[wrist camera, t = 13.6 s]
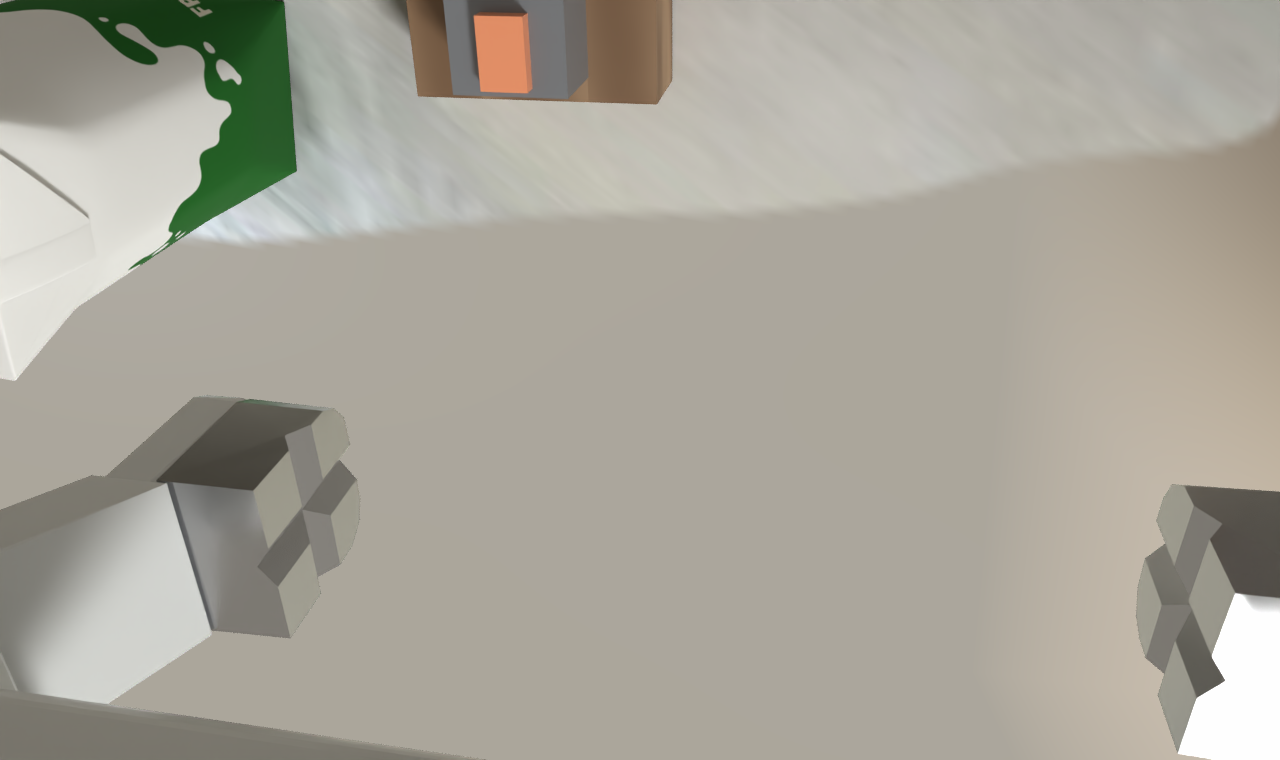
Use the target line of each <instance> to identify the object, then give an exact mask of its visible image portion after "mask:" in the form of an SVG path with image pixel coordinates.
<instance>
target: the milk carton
mask: <svg viewBox="0 0 1280 760" xmlns="http://www.w3.org/2000/svg"><path fill="white" fill-rule="evenodd" d="M296 171H297V168H296V155H295V141H294V128H293V114H292V101H291V87H290V74H289V60H288V47H287V33H286V20H285V6H284V2H283V1H277V0H15V1H10V2H6V3H2V4H0V378H3V379H8V380H16V379H17V378H18V377H19V376H20V374H21V373H22V372H23V371H24V370H25V368H26V367H27V366H28V365H29V364H30V362H31V361H32V360H33V359H34V358H35V356H36V355H37V354H38V353H39V352H40V350H41V349H42V348H43V347H44V346H45V344H46V343H47V342H48V341H49V340H50V338H51V337H52V336H53V335H54V334H55V332H56V331H57V330H58V329H59V327H61V325H62V324H63V323H64V322H65V320H66V319H67V318H68V317H69V316H70V315H71V313H72V312H73V311H74V310H75V309H76V308H77V307H78V306H80V305H82V304H83V303H84V302H86V301H87V300H89V299H90V298H92V297H93V296H95V295H96V294H98V293H99V292H101V291H102V290H104V289H105V288H107V287H108V286H110V285H111V284H113V283H114V282H116V281H117V280H119V279H121V278H122V277H123V276H125V275H127V274H128V273H129V272H131V271H133V270H134V269H135V268H137V267H139V266H140V265H141V264H143V263H145V262H146V261H147V260H149V259H151V258H152V257H154V256H155V255H156V254H158V253H159V252H161V251H163V250H164V249H165V248H167V247H169V246H170V245H172V244H173V243H175V242H176V241H178V240H179V239H181V238H182V237H184V236H185V235H187V234H188V233H190V232H191V231H193V230H194V229H196V228H198V227H199V226H201V225H202V224H204V223H205V222H207V221H209V220H210V219H212V218H214V217H216V216H217V215H219V214H221V213H223V212H224V211H226V210H228V209H230V208H232V207H233V206H235V205H237V204H239V203H241V202H242V201H244V200H246V199H248V198H249V197H251V196H253V195H255V194H257V193H258V192H260V191H262V190H264V189H266V188H267V187H269V186H271V185H273V184H274V183H276V182H278V181H280V180H282V179H283V178H285V177H287V176H289V175H291V174H292V173H294V172H296Z"/></svg>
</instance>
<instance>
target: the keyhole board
mask: <svg viewBox="0 0 1280 760" xmlns="http://www.w3.org/2000/svg"><path fill="white" fill-rule="evenodd" d="M406 3H407V12H408V20H409V28H410V36H411V44H412V52H413V60H414V68H415V76H416V84H417V92H418V96H423V97H453V98H482V99H512V100H541V101H571V102H600V103H630V104H657V103H658V102H659V100H660V99H661V97H662V96H663V94H664V92H665V91H666V89H667V88H668V86H669V85H670V83H671V82H672V0H586V25H587V51H588V78H587V79H586V81H585V82H584V83H583V84H582V85H581V86H580V87H579V88H578V89H577V90H576V91H575V92H574V93H573V94H572V95H571V96H570V98H569V99H551V98H523V97H495V96H466V95H453V89H452V80H451V70H450V61H449V51H448V42H447V32H446V23H445V13H444V4H443V0H406Z"/></svg>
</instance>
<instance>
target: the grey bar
mask: <svg viewBox="0 0 1280 760" xmlns="http://www.w3.org/2000/svg"><path fill="white" fill-rule="evenodd" d="M443 4H444V13H445V23H446V32H447V42H448V51H449V61H450V70H451V80H452V89H453V95H466V96H495V97H523V98H551V99H569V98H570V96H571V95H572V94H573V93H574V92H575V91H576V90H577V89H578V88H579V87H580V86H581V85H582V84H583V83H584V82H585V81H586V79H587V78H588V51H587V25H586V0H443Z"/></svg>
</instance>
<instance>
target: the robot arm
mask: <svg viewBox="0 0 1280 760" xmlns="http://www.w3.org/2000/svg"><path fill="white" fill-rule="evenodd" d="M349 445H350V442H349V438H348V433H347V429H346V425H345V420H344V417H343V416H342V415H341V414H340V413H338V412H337V411H336V410H335V409H334V408H326V407H317V406H308V405H299V404H290V403H281V402H272V401H263V400H254V399H248V400H246V399H244V398H236V397H223V396H211V395H206V396H199V397H194V398H192V399H191V400H190V401H189V402H188V403H187V404H186V405H185V406H183V407H182V408H181V409H180V410H179V411H178V412H177V413H176V414H175V415H173V416H172V417H171V418H170V419H169V420H168V421H167V422H166V423H165V424H163V425H162V426H161V427H160V428H159V429H158V430H157V431H156V432H155V433H153V434H152V435H151V436H150V437H149V438H148V439H147V440H146V441H145V442H143V443H142V444H141V445H140V446H139V447H138V448H137V449H136V450H134V452H132V453H131V454H130V455H129V456H128V457H127V458H126V459H124V460H123V461H122V462H121V463H120V464H119V465H118V466H117V467H115V468H114V469H113V470H112V471H111V472H110V473H109V474H108V475H107V476H105V477H104V476H103V477H102V476H92V475H91V476H89V477H86V478H83V479H81V480H78V481H75V482H73V483H70V484H67V485H65V486H62V487H59V488H57V489H54V490H52V491H49V492H46V493H44V494H41V495H38V496H36V497H33V498H31V499H28V500H25V501H22V502H20V503H17V504H15V505H12V506H9V507H7V508H4V509H1V510H0V760H485V759H478V758H471V757H464V756H456V755H450V754H443V753H437V752H429V751H423V750H415V749H409V748H402V747H395V746H389V745H382V744H375V743H368V742H362V741H354V740H347V739H341V738H334V737H327V736H321V735H314V734H307V733H300V732H293V731H287V730H280V729H273V728H266V727H259V726H252V725H246V724H238V723H232V722H225V721H218V720H211V719H204V718H198V717H191V716H184V715H177V714H170V713H164V712H157V711H150V710H143V709H136V708H130V707H123V706H116V705H109V704H108V703H109V702H111V701H113V700H114V699H116V698H117V697H119V696H120V695H122V694H123V693H125V692H126V691H127V690H129V689H130V688H132V687H134V686H135V685H137V684H138V683H140V682H141V681H143V680H144V679H146V678H147V677H149V676H150V675H152V674H153V673H155V672H156V671H158V670H159V669H161V668H162V667H164V666H165V665H167V664H168V663H170V662H171V661H173V660H174V659H176V658H177V657H179V656H180V655H182V654H183V653H185V652H186V651H188V650H190V649H191V648H193V647H194V646H196V645H197V644H199V643H200V642H202V641H203V640H204V639H206V638H208V637H209V636H211V635H212V631H211V630H213V631H223V632H233V633H243V634H254V635H263V636H273V637H283V638H291V637H292V635H293V634H294V633H295V631H296V629H297V628H298V627H299V625H300V624H301V622H302V621H303V619H304V618H305V616H306V615H307V613H308V612H309V610H310V609H311V607H312V606H313V605H314V603H315V602H316V600H317V599H318V597H319V596H320V594H321V591H320V586H319V582H318V576H320V575H322V574H324V573H326V572H327V571H329V570H331V569H333V568H335V567H337V566H339V565H340V564H341V563H342V561H343V560H344V558H345V556H346V555H347V553H348V552H349V550H350V549H351V547H352V544H353V541H354V538H355V534H356V531H357V527H358V523H359V520H360V496H359V490H358V484H357V479H356V478H355V477H354V476H353V475H352V474H351V472H350V471H349V470H348V469H347V468H346V467H345V466H344V465H343V464H342V462H341V461H340V459H341V457H342V456H343V454H344V453H345V451H346V450H347V448H348V446H349ZM1157 523H1158V526H1159V528H1160V531H1161V533H1162V536H1163V538H1164V541H1165V544H1164V545H1163V546H1161V547H1160V548H1159V549H1157V550H1156V551H1155V552H1154V553H1152V554H1151V555H1149V556H1148V557H1146V558H1145V561H1144V565H1143V569H1142V573H1141V577H1140V580H1139V584H1138V591H1137V610H1136V618H1137V625H1138V631H1139V638H1140V641H1141V645H1142V648H1143V651H1144V654H1145V658H1146V659H1148V660H1149V661H1150V662H1151V663H1152V664H1153V665H1155V666H1156V667H1157V668H1158V669H1159V670H1161V671H1162V672H1163V673H1164V677H1163V680H1162V684H1161V687H1160V690H1159V693H1158V697H1159V700H1160V703H1161V706H1162V709H1163V711H1164V715H1165V717H1166V720H1167V723H1168V726H1169V729H1170V732H1171V735H1172V738H1173V741H1174V744H1175V747H1176V750H1177V753H1178V754H1184V755H1190V756H1197V757H1203V758H1209V759H1216V760H1280V492H1275V491H1261V490H1247V489H1232V488H1218V487H1204V486H1190V485H1175V484H1172V485H1171V487H1170V488H1169V490H1168V492H1167V493H1166V495H1165V496H1164V498H1163V501H1162V504H1161V507H1160V510H1159V514H1158V517H1157Z"/></svg>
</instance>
